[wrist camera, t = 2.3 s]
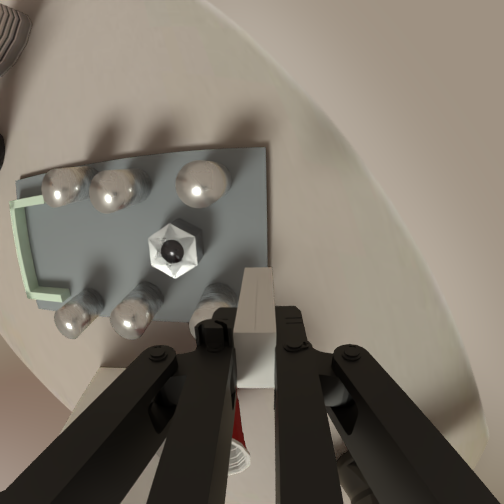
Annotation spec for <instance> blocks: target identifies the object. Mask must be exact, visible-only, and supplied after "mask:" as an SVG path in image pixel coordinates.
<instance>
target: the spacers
mask: <svg viewBox="0 0 504 504" xmlns="http://www.w3.org/2000/svg"><path fill="white" fill-rule="evenodd" d="M231 183H232V178H231V174H230V172H229V170H228V169H227V168H226V167H225V166H224V165H223V164H221V163H218V162H212V161H203V160H196V161H192V162H189V163H187V164H186V165H184V166H183V167H182V168H181V170H180V171H179V173H178V175H177V177H176V182H175V186H176V192H177V194H178V196H179V198H180V199H181V200H182V202H184V203H185V204H186V205H188V206H190V207H193V208H205V207H208V206H210V205H212V204H213V203H214V202H216V201H217V200H219V199H220V198H222V197H223V196H224V195H226V194H227V192H228V191H229V189H230V187H231ZM41 190H42V196H43V199H44V201H45V202H46V204H47V205H49V206H50V207H53V208H56V207H60V206H64V205H68V204H71V203H75V202H79V201H83V200H87V199H90V201H91V203H92V205H93V206H94V208H95V209H96V210H98V211H99V212H101V213H105V214H109V213H113V212H115V211H118V210H121V209H124V208H127V207H130V206H133V205H136V204H139V203H142V202H144V201H145V200H146V199H147V198H148V196H149V195H150V192H151V180H150V177H149V176H148V174H147V173H146V172H145V171H143V170H141V169H120V170H105V171H101V172H99V173H98V171H97V170H96V169H95V168H94V167H91V166H84V167H69V168H56V169H51V170H49V171H48V172H47V173H46V174H45V176H44V178H43V181H42V187H41ZM163 300H164V299H163V294H162V292H161V290H160V289H159V288H158V287H157V286H156V285H155V284H153V283H150V282H141V283H139V284H138V285H137V286H136V287H135V288H134V289H133V290H132V291H131V292H130V293H129V294H128V295H127V296H126V297H125V298H124V299H123V300H122V301H121V302H120V303H119V304H118V305H117V306H116V307H115V308H114V309H113V310H112V312H111V314H110V322H111V325H112V327H113V328H114V330H115V331H116V332H117V333H118V334H119V335H120V336H122V337H124V338H126V339H130V340H134V339H138V338H139V337H141V335H142V334H143V333H144V331H145V330H146V328H147V327H148V325H149V324H150V322H151V321H152V320H153V318H154V317H155V315H156V314H157V312H158V311H159V309H160V308H161V307H162V305H163ZM236 301H237V298H236V294H235V292H234V290H233V289H232V288H231V287H230V286H228V285H226V284H224V283H213V284H210V285H209V286H207V287H206V288H205V290H204V292H203V294H202V296H201V298H200V300H199V302H198V304H197V306H196V309H195V311H194V313H193V315H192V317H191V319H190V322H189V329H190V332H191V334H192V335H193V337H194V338H195V339H196V336H195V329H194V327H195V326H196V325H197V324H198V323H199V322H201V321H204V320H207V319H212V316H213V313H214V312H215V311H216V310H217V309H218V308H219V307H235V306H236ZM104 307H105V305H104V300H103V298H102V296H101V295H100V293H99V292H98V291H96V290H95V289H93V288H85V289H84V290H82V291H81V292H80V293H79V294H77V295H76V296H75V297H73V298H72V299H71V300H70V301H68V302H67V303H66V304H65V305H63V306H62V307H61V308H60V309H58V310H57V311H56V312H55V314H54V321H55V324H56V326H57V328H58V330H59V331H60V332H61V333H62V334H63V335H64V336H65V337H67V338H69V339H76V338H77V337H78V336H79V335H80V334H81V333H82V332H83V331H84V330H85V329H86V328H87V327H88V326H89V325H90V324H91V323H92V322H93V321H94V320H95V319H96V318H97V317H98V316H99V315H100V314H101V313H102V312H103V310H104Z"/></svg>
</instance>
